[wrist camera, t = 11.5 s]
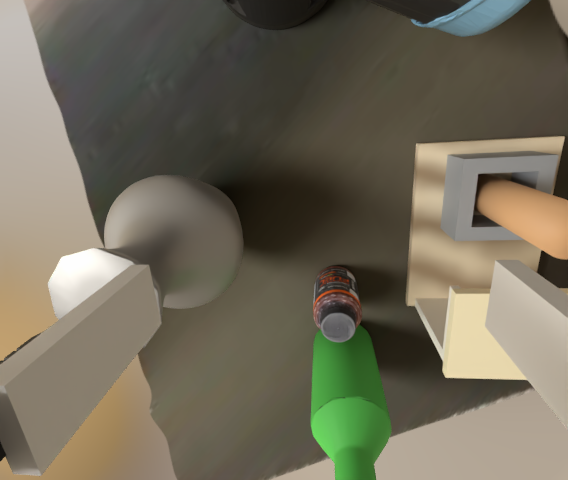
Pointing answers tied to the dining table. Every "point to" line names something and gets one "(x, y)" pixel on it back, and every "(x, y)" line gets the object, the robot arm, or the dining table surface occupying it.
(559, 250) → the peg
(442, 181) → the board
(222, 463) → the dining table surface
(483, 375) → the cream shelf stand
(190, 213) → the vase
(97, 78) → the dining table surface
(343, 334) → the supplement bottle
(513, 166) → the socket
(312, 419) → the bottle
